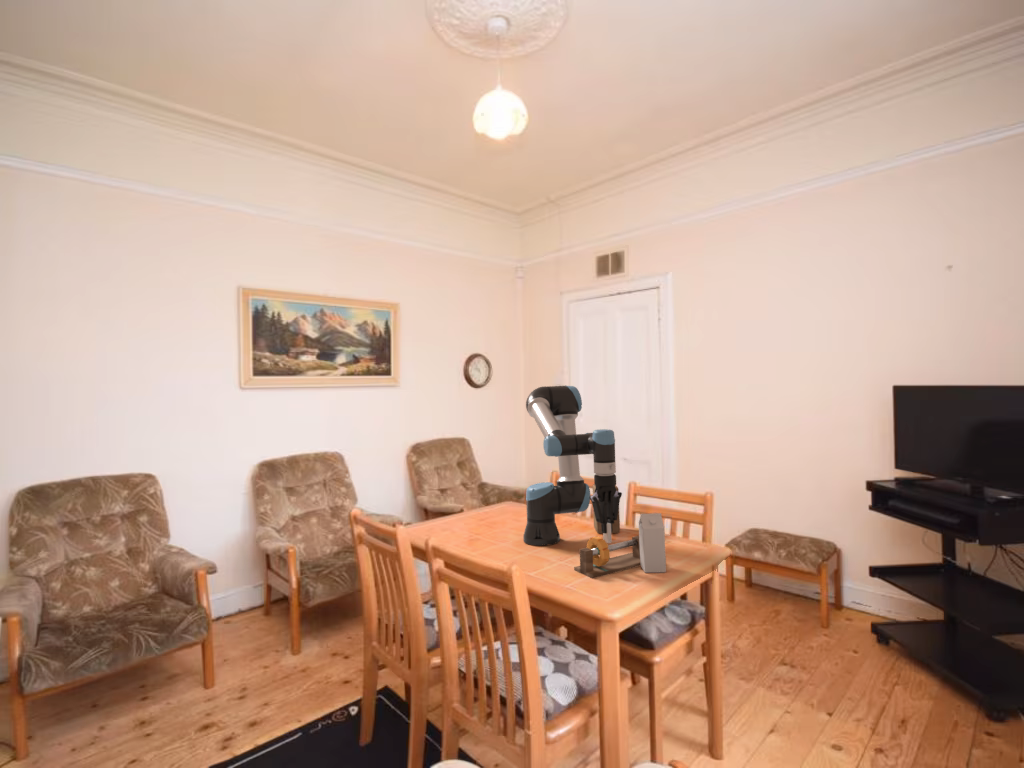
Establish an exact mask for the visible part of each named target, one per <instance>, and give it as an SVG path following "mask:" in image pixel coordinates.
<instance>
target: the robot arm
mask: <svg viewBox="0 0 1024 768" xmlns="http://www.w3.org/2000/svg"><path fill="white" fill-rule="evenodd" d="M582 401H583V400H582V395H581V393H580V391H579V390H578V387H576V386H574V385H552V386H551V385H549V386H540V387H539V386H538V387H536V388H534V389H533V390H532V391H530V393H529V394H528V396H527V398H526V402H525V408H526V412H527V413H528V414H529V416H530V417H532V418H533V419H534V421H535V423H536V425H537V426H538V428H539V430H540V433H541V434H542V435H543V437H544V439H543V442H542V443H543V444H542V445H543V450H544V454H545V455H546V456H547V457H555V458H556V457H558V458H557V459H558V460H557V461H558V471H559V477H558V479H557V480H556V485H554V483H553V482H550V481H549V482H548V481H547V482H539V483H538V482H537V483H534V484H531V485H529V486H528V487H527V488H526V490H525V491H526V492H525V501H526V525H525V528H524V533H523V542H524V543H525V544H527V545H531V546H543V547H544V546H551V545H555V544H557V543H560V541H561V537H560V535H561V534H560V532H559V529H558V527H557V523H556V517H555V516H556V515H560V514H561V515H563V514H577V513H580V512H582V513H583V512H585V511H587V510H588V508H589V506H590V501H591V504H592V510H593V509H594V512H593V514H594V513H595V518H596V521H597V522H599V523H601V528H602V533H603V534H602V538H603V540H605V541H606V543H607V544H611V543H612V542H613V541H612V533H611V532H612V531H613V528H612V523H613V524H614V523H615V522H614V521H615V520H617V516H618V509H619V510H620V502H621V498H622V496H623V493H622V492H620V491H619V490H618V491H619V492H618V491H617V490H616V487H615V485H616V486H617V475H616V472H617V469H616V467H617V464H616V439H615V432H614V431H613V429H608V428H607V429H605V428H604V429H601V428H600V429H595V430H593V431H592V432H585V433H579V434H577V428H576V419H577V417H578V416H579V412H581V410H582V408H583V407H582V406H583V402H582ZM580 455H581V456H582V455H593V474H594V475H593V477H594V484H595V486H596V489H595V493H594V494H593V493H592V495H591V490H590V486H589V484H588V483H585V479H584V478H583V477H582V476H581V472H580V471H581V470H580V462H579V456H580ZM598 498H599V501H598ZM599 504H600V505H599ZM612 544H613V543H612Z"/></svg>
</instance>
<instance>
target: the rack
mask: <svg viewBox="0 0 1024 768" xmlns="http://www.w3.org/2000/svg"><path fill="white" fill-rule="evenodd" d="M633 539H636V540H637V543H638V544H637V545H636V546H632V547H631V548H632V552H628V553H626V554H621V555H618V556H617V555H616V556H613V557H610V558H609V561H608V562H607V563H606V565H603V566H596V565H594V564H593V550H591V549H589V548H587V547H583V548H580V549H579V565H578V566H574V567H573V569H574V571H575V572H577V573H579V574H582V575H584V576H586V577H589V578H590V579H595V578H600V577H604V576H608V575H611V574H614V573H615V574H616V573H619V572H622V571H626V570H630V569H633V568H637V567H641V566H640V544H639V535H636V536H632V537H631V540H633Z"/></svg>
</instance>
